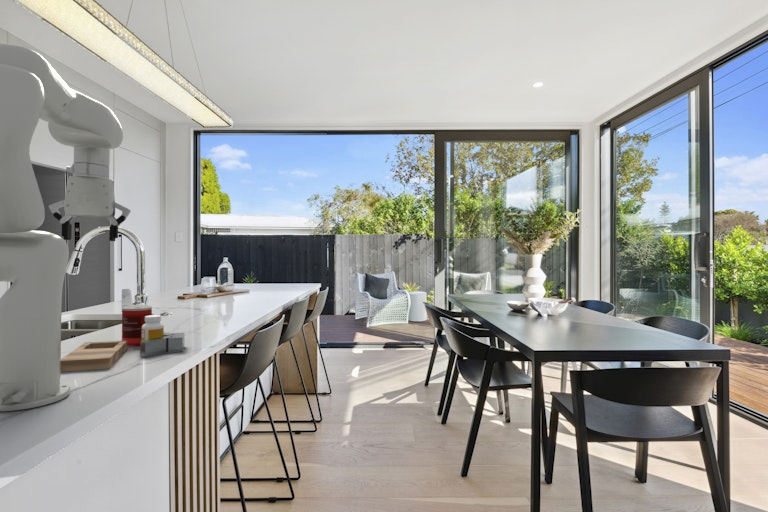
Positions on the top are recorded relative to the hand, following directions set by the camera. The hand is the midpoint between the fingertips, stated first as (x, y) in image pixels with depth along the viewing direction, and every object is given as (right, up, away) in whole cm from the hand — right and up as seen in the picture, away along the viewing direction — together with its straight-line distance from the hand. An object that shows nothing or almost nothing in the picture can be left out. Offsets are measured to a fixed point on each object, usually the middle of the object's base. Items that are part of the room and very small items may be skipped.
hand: (90, 240), depth 107 cm
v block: (+13, -30, +12) cm, 35 cm away
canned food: (+1, -30, +19) cm, 36 cm away
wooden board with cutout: (+1, -30, 0) cm, 30 cm away
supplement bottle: (+10, -31, +11) cm, 34 cm away
